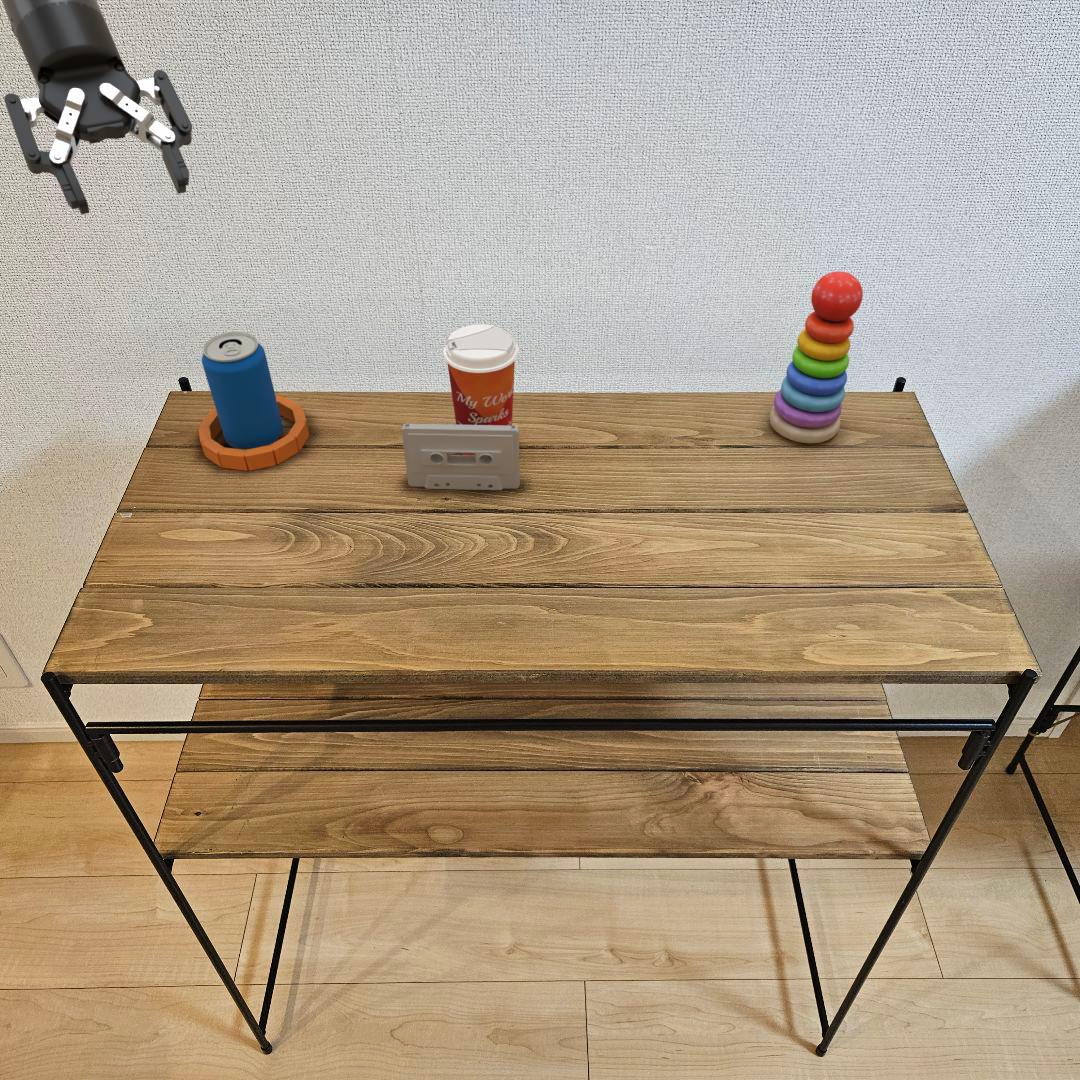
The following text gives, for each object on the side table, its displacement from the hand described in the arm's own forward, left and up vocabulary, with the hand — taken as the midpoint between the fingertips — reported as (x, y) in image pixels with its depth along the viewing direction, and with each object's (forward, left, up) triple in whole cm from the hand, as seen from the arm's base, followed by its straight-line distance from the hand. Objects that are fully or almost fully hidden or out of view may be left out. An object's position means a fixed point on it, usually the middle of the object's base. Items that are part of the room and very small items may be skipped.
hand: (134, 199), depth 79 cm
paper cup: (+29, -10, -29) cm, 42 cm away
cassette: (+25, -15, -29) cm, 41 cm away
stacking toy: (+65, -18, -29) cm, 73 cm away
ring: (+5, +1, -29) cm, 29 cm away
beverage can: (+5, +1, -29) cm, 29 cm away
